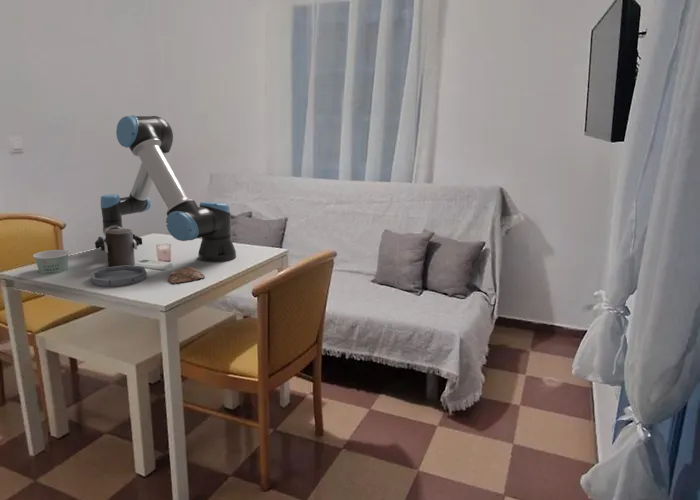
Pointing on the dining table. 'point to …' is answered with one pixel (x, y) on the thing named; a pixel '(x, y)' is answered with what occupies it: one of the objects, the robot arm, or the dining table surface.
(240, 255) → the dining table surface
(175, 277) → the shell
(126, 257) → the pillar candle
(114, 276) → the tray
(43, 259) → the food container
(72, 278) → the dining table surface
